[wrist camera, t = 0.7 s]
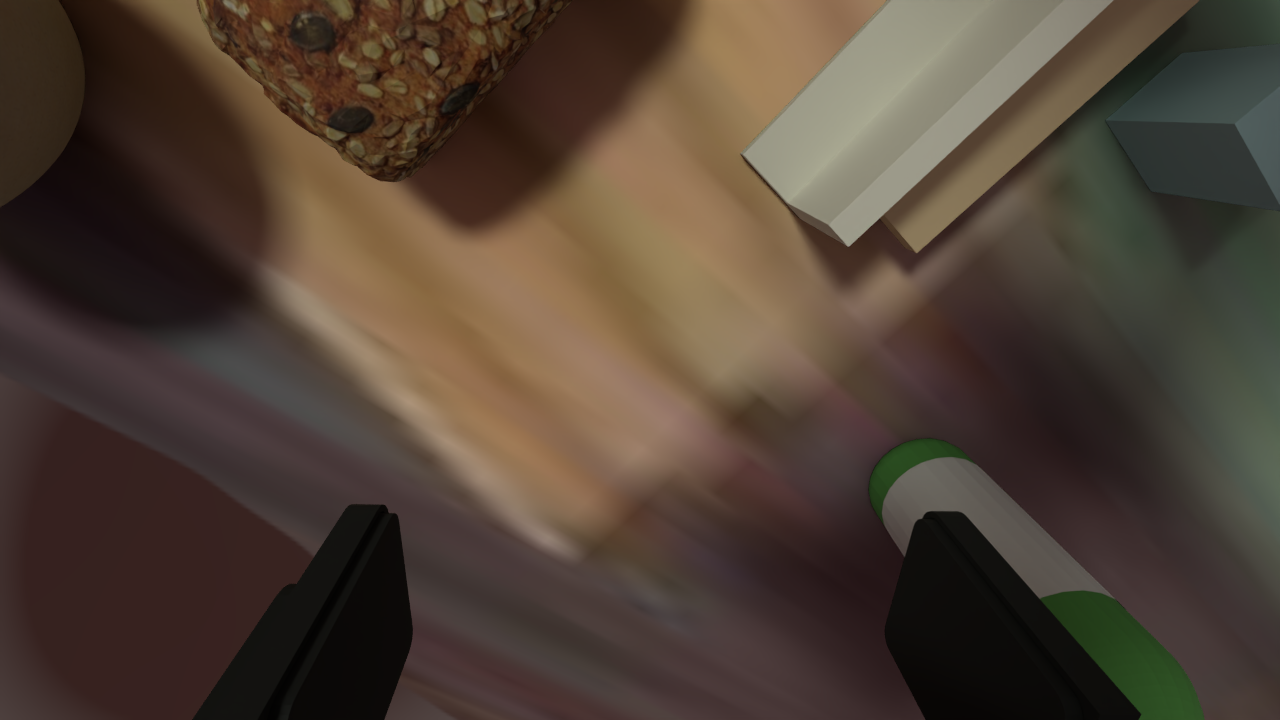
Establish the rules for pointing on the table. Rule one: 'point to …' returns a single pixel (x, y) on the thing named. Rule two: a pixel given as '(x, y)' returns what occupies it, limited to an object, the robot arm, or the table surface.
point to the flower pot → (36, 90)
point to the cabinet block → (1209, 127)
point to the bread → (378, 66)
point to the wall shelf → (942, 106)
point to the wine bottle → (1033, 569)
